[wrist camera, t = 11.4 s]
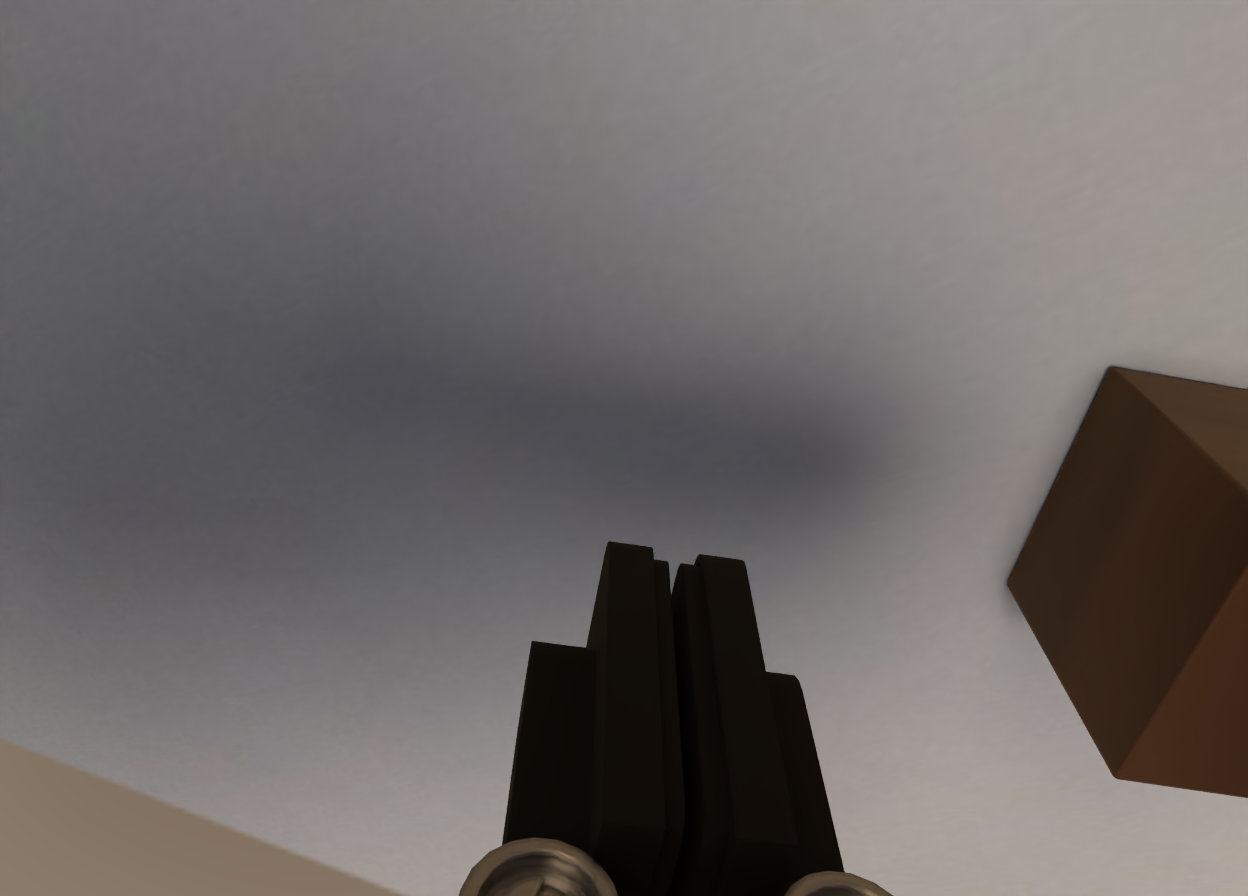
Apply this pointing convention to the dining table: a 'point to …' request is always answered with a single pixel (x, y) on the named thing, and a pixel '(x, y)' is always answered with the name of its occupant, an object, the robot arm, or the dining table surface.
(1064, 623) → the walnut block
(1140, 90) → the dining table surface
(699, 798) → the robot arm
